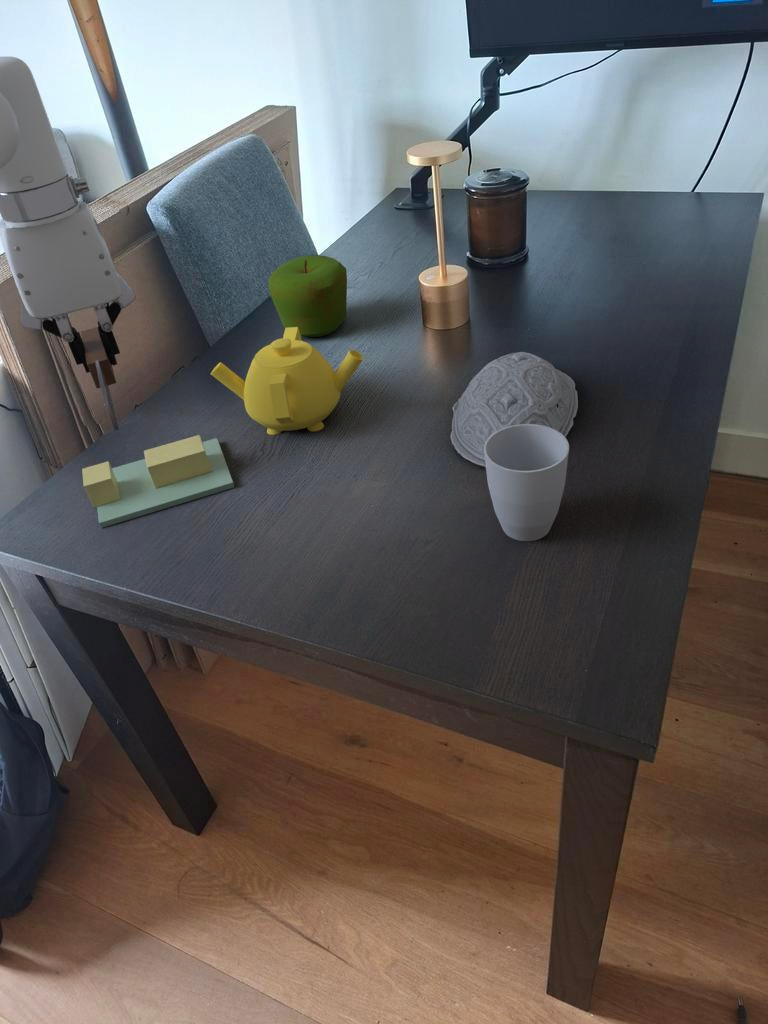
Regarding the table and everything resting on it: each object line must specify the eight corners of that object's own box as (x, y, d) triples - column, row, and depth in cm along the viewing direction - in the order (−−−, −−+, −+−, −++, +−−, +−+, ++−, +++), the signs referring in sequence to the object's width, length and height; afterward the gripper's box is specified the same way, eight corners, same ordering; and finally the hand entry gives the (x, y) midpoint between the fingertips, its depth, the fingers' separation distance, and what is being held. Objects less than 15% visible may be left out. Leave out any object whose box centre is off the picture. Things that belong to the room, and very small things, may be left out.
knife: (89, 354, 92) (79, 329, 90) (107, 349, 92) (98, 324, 90) (106, 434, 76) (95, 407, 74) (128, 428, 76) (117, 400, 74)
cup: (577, 513, 80) (582, 434, 74) (546, 560, 75) (548, 480, 69) (507, 494, 84) (506, 417, 78) (473, 538, 79) (469, 459, 73)
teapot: (373, 377, 108) (363, 303, 101) (368, 448, 94) (355, 369, 87) (236, 390, 110) (217, 318, 103) (212, 461, 96) (187, 384, 89)
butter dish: (101, 528, 88) (98, 523, 88) (95, 478, 96) (93, 473, 96) (234, 487, 91) (233, 482, 91) (218, 442, 100) (217, 437, 99)
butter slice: (93, 507, 90) (83, 486, 88) (91, 489, 93) (81, 468, 91) (120, 499, 91) (111, 478, 89) (117, 481, 94) (108, 460, 92)
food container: (586, 363, 103) (583, 318, 98) (564, 481, 86) (559, 433, 81) (474, 369, 108) (467, 326, 104) (433, 481, 91) (422, 436, 87)
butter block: (155, 488, 92) (146, 467, 90) (151, 471, 95) (143, 450, 93) (211, 471, 93) (205, 450, 91) (206, 455, 96) (199, 434, 94)
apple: (282, 316, 128) (268, 250, 121) (354, 307, 127) (344, 240, 120) (276, 351, 118) (260, 281, 111) (354, 341, 118) (343, 270, 111)
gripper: (112, 175, 81) (164, 333, 93) (-44, 209, 77) (29, 370, 89) (120, 191, 75) (174, 358, 87) (-48, 229, 72) (31, 398, 83)
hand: (100, 363), depth 88 cm, fingers closed on knife, 2 cm apart
